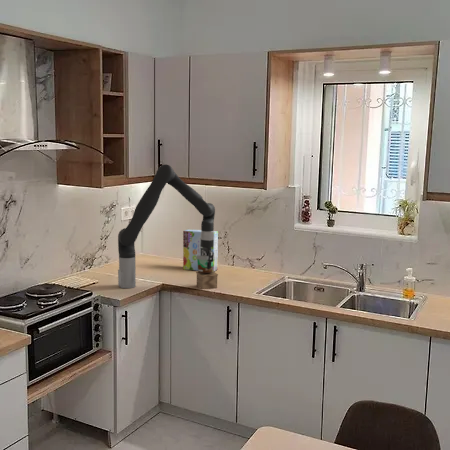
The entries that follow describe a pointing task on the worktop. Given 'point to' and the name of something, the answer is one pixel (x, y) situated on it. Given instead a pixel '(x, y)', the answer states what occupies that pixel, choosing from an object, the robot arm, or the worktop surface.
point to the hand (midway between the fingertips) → (206, 267)
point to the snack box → (196, 249)
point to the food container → (204, 264)
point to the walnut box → (207, 280)
